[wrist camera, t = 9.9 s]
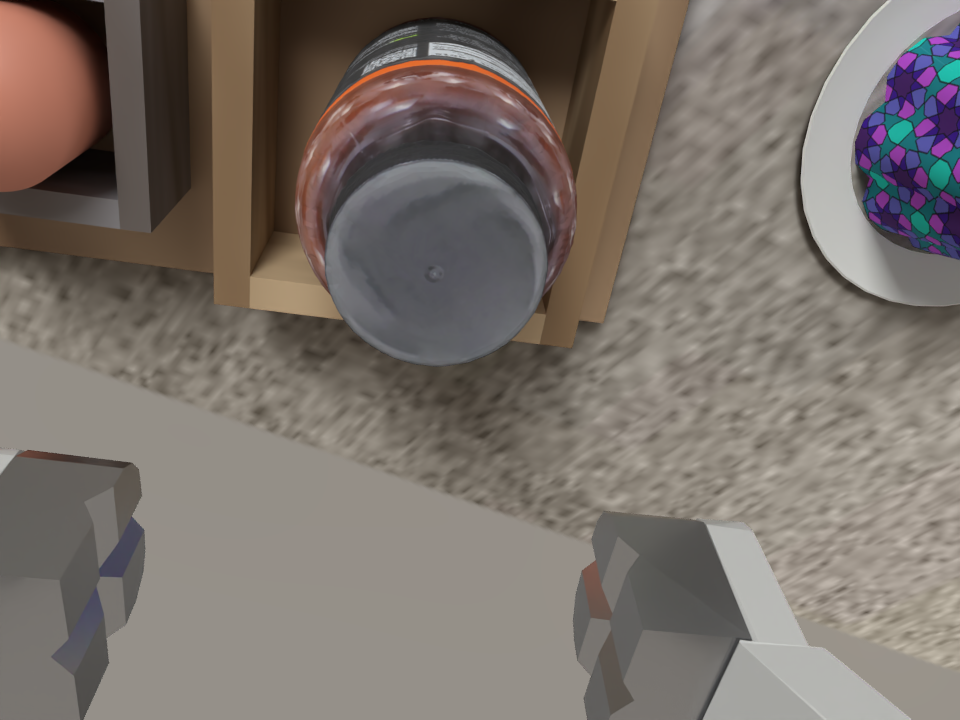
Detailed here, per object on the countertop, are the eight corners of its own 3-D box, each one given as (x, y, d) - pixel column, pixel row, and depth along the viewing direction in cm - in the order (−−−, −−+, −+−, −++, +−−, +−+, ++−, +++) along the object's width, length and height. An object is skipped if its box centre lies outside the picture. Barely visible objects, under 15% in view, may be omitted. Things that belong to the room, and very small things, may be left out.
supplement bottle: (451, 251, 26) (452, 467, 16) (298, 131, 24) (193, 295, 14) (579, 108, 24) (672, 257, 14) (424, -37, 22) (404, 17, 12)
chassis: (695, -68, 22) (753, -60, 18) (597, 307, 28) (624, 381, 24) (-136, -223, 20) (-297, -256, 16) (-54, 222, 26) (-154, 288, 22)
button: (115, 8, 20) (60, 27, 17) (125, 163, 22) (77, 202, 19) (-53, -19, 20) (-138, -5, 17) (-27, 141, 22) (-99, 178, 19)
